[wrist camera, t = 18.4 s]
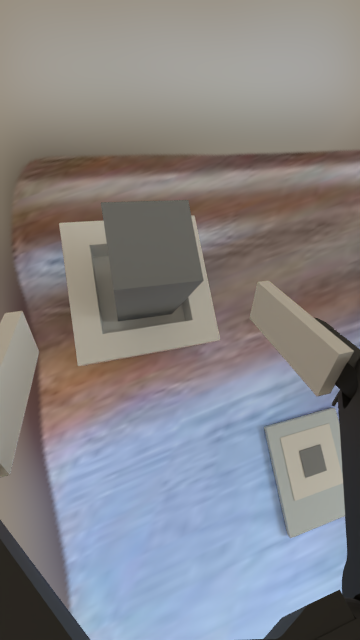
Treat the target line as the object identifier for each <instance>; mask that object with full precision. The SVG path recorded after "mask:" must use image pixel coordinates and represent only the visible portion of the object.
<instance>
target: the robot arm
mask: <svg viewBox="0 0 360 640" xmlns="http://www.w3.org/2000/svg"><path fill="white" fill-rule="evenodd" d="M250 319H251V321H252V322H253V323H254V324H255V325H256V326H257V328H258V329H259V330H260V331H261V332H262V333H263V335H264V336H265V337H266V338H267V339H268V340H269V341H270V343H271V344H272V345H273V346H274V347H275V348H276V350H277V351H278V352H279V353H280V354H281V355H282V357H283V358H284V359H285V360H286V361H287V362H288V364H289V365H290V366H291V367H292V368H293V369H294V370H295V372H296V373H297V374H298V375H299V376H300V377H301V379H302V380H303V381H304V382H305V383H306V384H307V386H308V387H309V388H310V389H311V390H312V391H313V393H314V394H315V395H316V396H321V395H325V394H329V393H331V391H332V389H333V387H334V386H335V385H336V386H337V387H338V388H339V389H340V391H339V392H338V394H337V396H336V397H335V399H334V401H333V403H332V406H335V404H336V403H337V402H338V408H339V424H340V440H341V456H342V473H343V489H344V505H345V521H346V537H347V561H346V564H345V567H344V570H343V577H342V593H341V592H340V590H338V591H336V592H334V593H332V594H330V595H327V596H325V597H323V598H321V599H319V600H317V601H315V602H313V603H311V604H309V605H307V606H305V607H303V608H301V609H299V610H297V611H295V612H293V613H291V614H289V615H287V616H285V617H283V618H281V620H280V621H279V622H278V623H277V624H276V625H275V626H274V627H273V629H272V630H271V631H270V632H269V633H268V634H267V635H266V637H265V638H264V639H252V640H360V349H358V348H357V347H356V346H355V345H353V344H352V343H351V342H350V341H348V340H347V339H346V338H345V337H343V336H342V335H340V333H338V332H337V331H336V330H334V328H332V327H331V326H330V325H329V324H327V323H326V322H324V321H322V320H320V319H318V318H313V317H312V316H311V315H310V314H308V313H307V312H306V311H305V310H304V309H302V308H301V307H300V306H299V305H298V304H296V303H295V302H294V301H293V300H291V299H290V298H289V297H288V296H287V295H285V294H284V293H283V292H282V291H281V290H279V289H278V288H277V287H276V286H274V285H273V284H272V283H271V282H270V281H261V282H257V287H256V291H255V296H254V301H253V305H252V310H251V314H250ZM38 355H39V350H38V348H37V345H36V343H35V341H34V338H33V336H32V333H31V331H30V328H29V326H28V324H27V321H26V319H25V317H24V314H23V312H22V311H19V312H10V313H5V314H4V316H3V318H2V320H1V323H0V477H4V476H8V475H10V472H11V468H12V464H13V460H14V456H15V451H16V447H17V443H18V439H19V435H20V430H21V426H22V422H23V418H24V414H25V409H26V405H27V401H28V396H29V392H30V388H31V384H32V380H33V376H34V371H35V367H36V363H37V359H38ZM0 640H90V639H89V637H88V636H87V635H86V633H85V632H84V631H83V629H82V628H81V627H80V625H79V624H78V623H77V621H76V620H75V619H74V617H73V616H72V615H71V613H70V612H69V611H68V609H67V608H66V607H65V605H64V604H63V603H62V601H61V600H60V599H59V597H58V596H57V595H56V594H55V592H54V591H53V589H52V588H51V587H50V585H49V584H48V583H47V581H46V580H45V579H44V577H43V576H42V575H41V573H40V572H39V571H38V569H37V568H36V567H35V565H34V564H33V563H32V561H31V560H30V559H29V557H28V556H27V555H26V554H25V552H24V551H23V549H22V548H21V547H20V545H19V544H18V543H17V541H16V540H15V539H14V538H13V536H12V535H11V533H10V532H9V531H8V530H7V528H6V527H5V525H4V524H3V523H2V521H1V520H0Z"/></svg>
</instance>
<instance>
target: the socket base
mask: <svg viewBox="0 0 360 640" xmlns="http://www.w3.org/2000/svg"><path fill="white" fill-rule="evenodd" d="M191 218H192V223H193V228H194V233H195V238H196V244H197V249H198V254H199V259H200V264H201V269H202V275H203V280H204V281H203V282H202V283H201V284H200V285H199V286H198V287H197V288H196V289H195V290H194V291H193V292H192V293H191V294H190V296H189V297H188V298H187V299H186V300H185V301H184V302H183V303H182V304H181V305H180V306H179V307H178V308H177V309H176V310H175V311H174V312H173V313H172V314H169V315H162V316H155V317H147V318H140V319H133V320H125V321H118V318H117V311H116V304H115V297H114V290H113V283H112V276H111V269H110V262H109V256H108V249H107V242H106V235H105V228H104V221H88V222H69V223H59V226H60V233H61V241H62V249H63V256H64V264H65V271H66V279H67V287H68V294H69V302H70V309H71V317H72V325H73V332H74V340H75V348H76V355H77V363H78V366H85V365H91V364H96V363H102V362H107V361H113V360H118V359H124V358H129V357H135V356H140V355H146V354H151V353H157V352H162V351H168V350H173V349H179V348H184V347H189V346H195V345H200V344H206V343H210V342H214V341H218V340H220V336H219V332H218V327H217V322H216V317H215V312H214V307H213V303H212V298H211V293H210V288H209V283H208V278H207V274H206V269H205V264H204V259H203V254H202V250H201V245H200V240H199V235H198V230H197V225H196V221H195V216H191Z"/></svg>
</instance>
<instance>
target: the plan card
mask: <svg viewBox="0 0 360 640" xmlns="http://www.w3.org/2000/svg"><path fill="white" fill-rule="evenodd" d="M264 430H265V435H266V439H267V444H268V448H269V453H270V457H271V462H272V466H273V471H274V476H275V480H276V485H277V489H278V494H279V498H280V503H281V507H282V512H283V516H284V521H285V526H286V530H287V535H288V536H289V537H290V538H292V537H295V536H297V535H300V534H302V533H305V532H307V531H309V530H312V529H314V528H317V527H319V526H322V525H324V524H326V523H329V522H331V521H334V520H336V519H339V518H341V517H344V516H345V505H344V489H343V473H342V456H341V440H340V425H339V421H338V417H337V413H336V409H335V408H329V409H325V410H322V411H318V412H315V413H311V414H307V415H304V416H300V417H297V418H293V419H290V420H286V421H283V422H279V423H275V424H272V425H268V426H265V427H264Z"/></svg>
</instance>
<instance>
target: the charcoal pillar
mask: <svg viewBox="0 0 360 640" xmlns="http://www.w3.org/2000/svg"><path fill="white" fill-rule="evenodd" d="M101 207H102V214H103V221H104V228H105V235H106V242H107V249H108V256H109V262H110V269H111V276H112V283H113V290H114V297H115V304H116V311H117V318H118V321H125V320H133V319H140V318H147V317H155V316H162V315H169V314H172V313H173V312H174V311H175V310H176V309H177V308H178V307H179V306H180V305H181V304H182V303H183V302H184V301H185V300H186V299H187V298H188V297H189V296H190V294H191V293H192V292H193V291H194V290H195V289H196V288H197V287H198V286H199V285H200V284H201V283H202V282H203V281H204V280H203V275H202V269H201V264H200V259H199V254H198V249H197V244H196V238H195V233H194V228H193V223H192V218H191V213H190V207H189V202H188V200H174V201H139V202H104V203H101Z"/></svg>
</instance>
